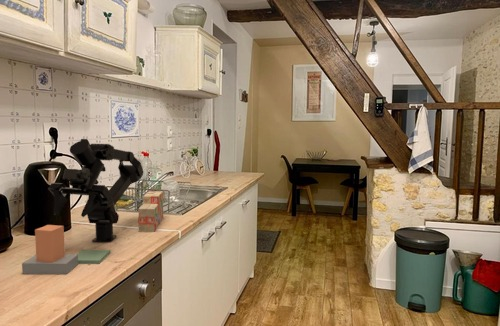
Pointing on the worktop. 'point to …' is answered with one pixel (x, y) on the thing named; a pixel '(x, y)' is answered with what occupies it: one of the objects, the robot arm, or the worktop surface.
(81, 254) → the green mat
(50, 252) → the terracotta block
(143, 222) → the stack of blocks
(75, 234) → the worktop surface
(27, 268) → the slate block
